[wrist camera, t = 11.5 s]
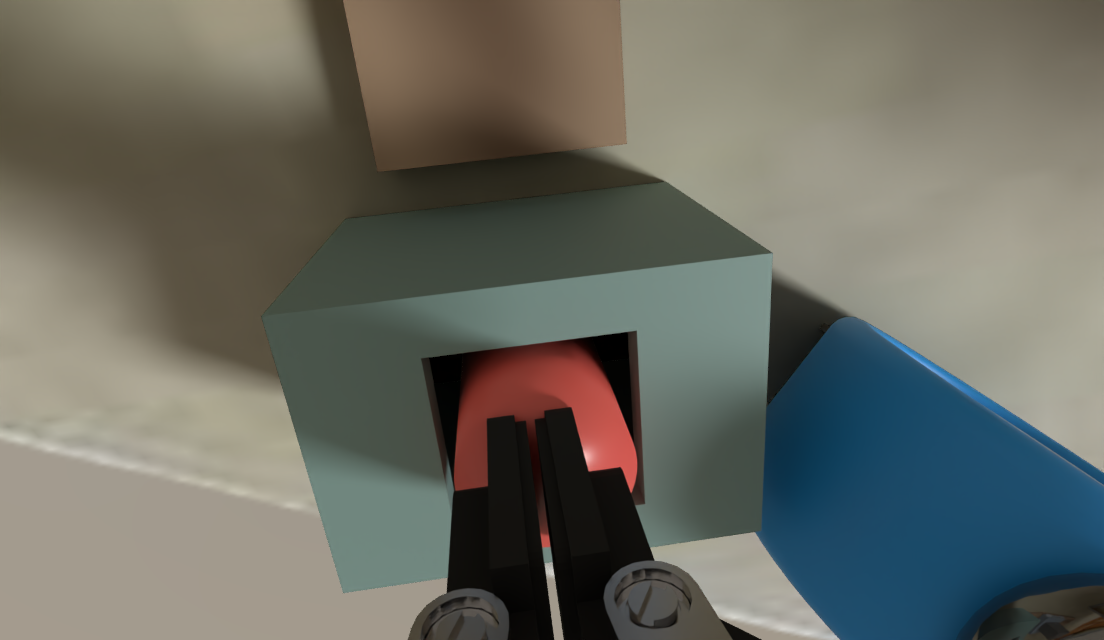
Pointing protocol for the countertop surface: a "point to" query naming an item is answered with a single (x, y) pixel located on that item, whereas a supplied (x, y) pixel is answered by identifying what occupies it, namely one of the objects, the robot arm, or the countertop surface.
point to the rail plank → (487, 78)
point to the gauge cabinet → (513, 320)
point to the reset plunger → (540, 408)
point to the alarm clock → (925, 503)
